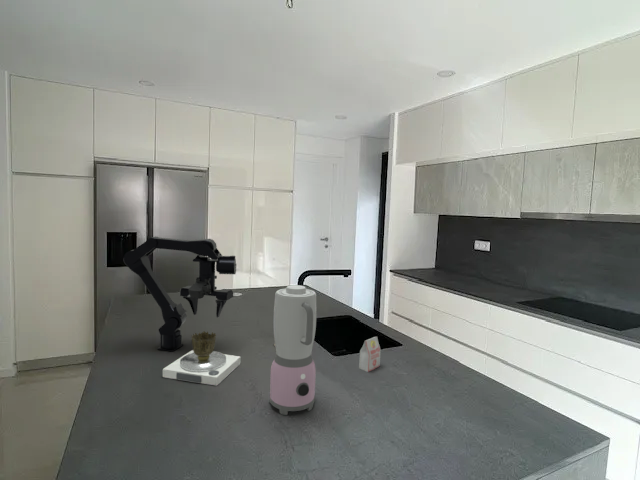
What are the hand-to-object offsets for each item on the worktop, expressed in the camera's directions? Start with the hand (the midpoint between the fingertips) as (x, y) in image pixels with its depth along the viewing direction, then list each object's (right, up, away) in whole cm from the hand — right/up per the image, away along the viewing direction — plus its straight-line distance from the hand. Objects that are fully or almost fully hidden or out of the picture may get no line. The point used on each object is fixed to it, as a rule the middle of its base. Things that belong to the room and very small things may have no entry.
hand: (206, 315), depth 136 cm
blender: (+35, -17, -37) cm, 53 cm away
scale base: (+4, -14, -17) cm, 23 cm away
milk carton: (+58, -16, -10) cm, 61 cm away
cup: (+5, -10, -18) cm, 21 cm away
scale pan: (+4, -11, -18) cm, 21 cm away
